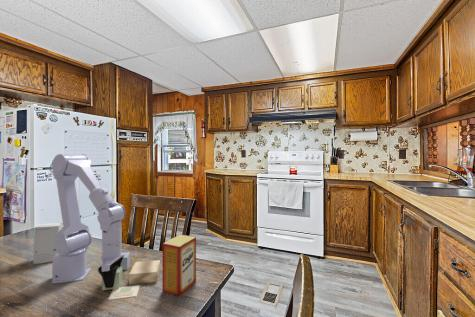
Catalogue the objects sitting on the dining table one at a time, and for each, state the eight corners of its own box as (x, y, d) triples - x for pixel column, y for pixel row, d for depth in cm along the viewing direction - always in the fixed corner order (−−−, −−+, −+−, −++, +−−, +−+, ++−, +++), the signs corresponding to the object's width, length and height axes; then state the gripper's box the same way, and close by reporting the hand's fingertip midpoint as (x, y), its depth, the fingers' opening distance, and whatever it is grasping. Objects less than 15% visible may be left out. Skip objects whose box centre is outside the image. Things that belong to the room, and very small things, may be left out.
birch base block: (129, 285, 79) (129, 274, 78) (135, 272, 87) (135, 261, 87) (156, 283, 80) (156, 271, 80) (160, 270, 89) (160, 260, 89)
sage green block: (101, 290, 75) (102, 274, 75) (106, 283, 79) (106, 268, 80) (118, 288, 76) (119, 272, 76) (122, 281, 81) (122, 266, 81)
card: (108, 300, 70) (108, 299, 70) (113, 289, 76) (113, 287, 76) (136, 297, 72) (136, 295, 72) (140, 286, 78) (139, 284, 78)
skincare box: (33, 264, 92) (32, 227, 92) (39, 258, 98) (38, 223, 97) (58, 261, 95) (58, 225, 95) (63, 255, 101) (63, 221, 101)
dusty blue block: (112, 271, 87) (112, 258, 87) (116, 265, 92) (116, 253, 92) (127, 270, 88) (127, 257, 88) (130, 264, 93) (130, 252, 93)
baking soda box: (180, 277, 84) (180, 233, 83) (195, 281, 81) (196, 235, 81) (162, 291, 75) (162, 242, 75) (179, 296, 72) (179, 245, 72)
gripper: (119, 249, 71) (119, 293, 72) (129, 233, 85) (129, 270, 86) (93, 251, 70) (94, 296, 70) (108, 235, 84) (108, 272, 84)
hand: (112, 282), depth 78 cm, fingers open, 5 cm apart
